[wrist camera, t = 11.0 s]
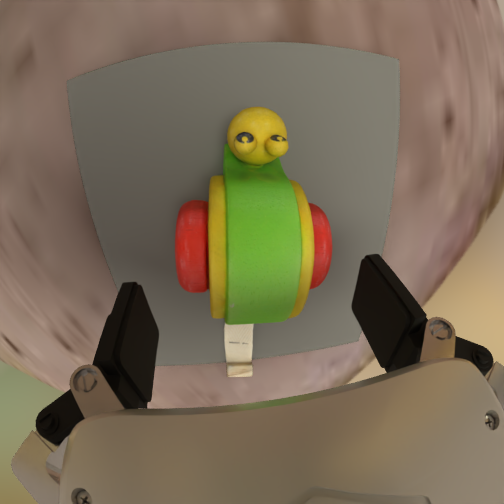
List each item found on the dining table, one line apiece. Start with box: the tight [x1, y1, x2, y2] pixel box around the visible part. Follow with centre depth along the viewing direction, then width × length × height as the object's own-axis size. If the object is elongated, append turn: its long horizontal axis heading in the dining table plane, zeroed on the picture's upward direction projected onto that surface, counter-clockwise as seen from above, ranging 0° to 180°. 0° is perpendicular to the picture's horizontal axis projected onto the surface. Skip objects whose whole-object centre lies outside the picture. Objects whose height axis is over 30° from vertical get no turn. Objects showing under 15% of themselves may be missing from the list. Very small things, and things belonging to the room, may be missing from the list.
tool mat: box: [67, 42, 400, 366], centre depth 16 cm, size 18×22×1 cm
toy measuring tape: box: [175, 107, 332, 377], centre depth 14 cm, size 6×20×7 cm, turn 176°
